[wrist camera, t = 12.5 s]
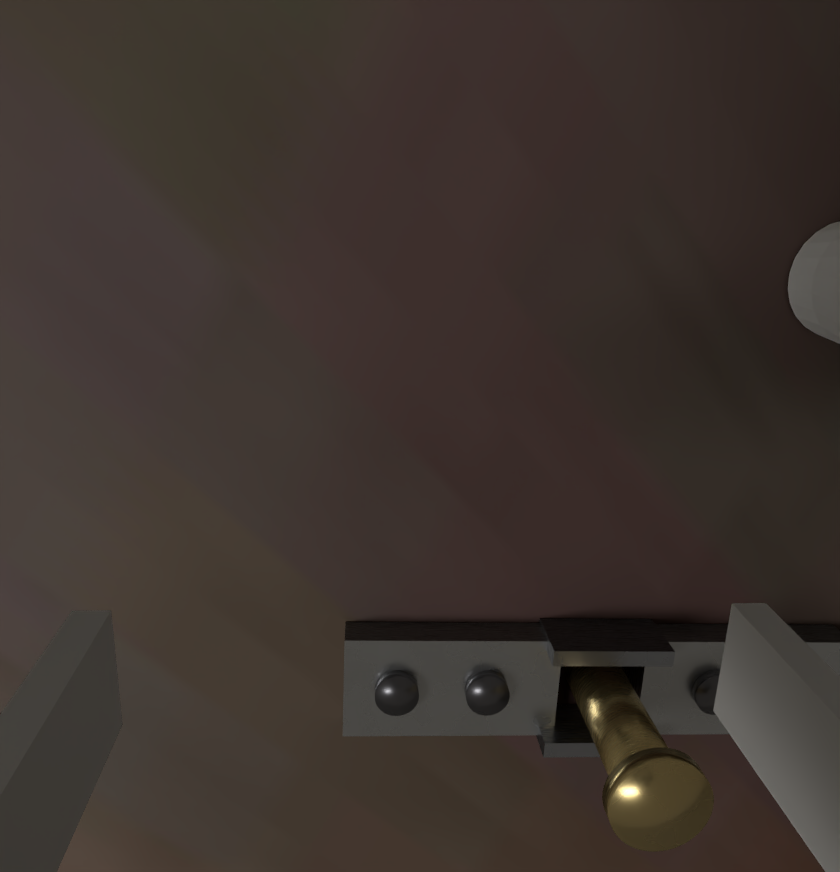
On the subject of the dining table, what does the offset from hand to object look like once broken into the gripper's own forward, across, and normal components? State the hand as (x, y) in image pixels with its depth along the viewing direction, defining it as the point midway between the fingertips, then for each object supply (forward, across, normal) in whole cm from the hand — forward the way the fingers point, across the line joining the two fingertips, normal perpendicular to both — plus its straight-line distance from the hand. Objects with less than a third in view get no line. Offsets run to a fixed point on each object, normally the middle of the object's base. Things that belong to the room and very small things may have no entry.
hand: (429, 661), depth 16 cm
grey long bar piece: (+24, +12, -17) cm, 31 cm away
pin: (+24, +12, -17) cm, 31 cm away
